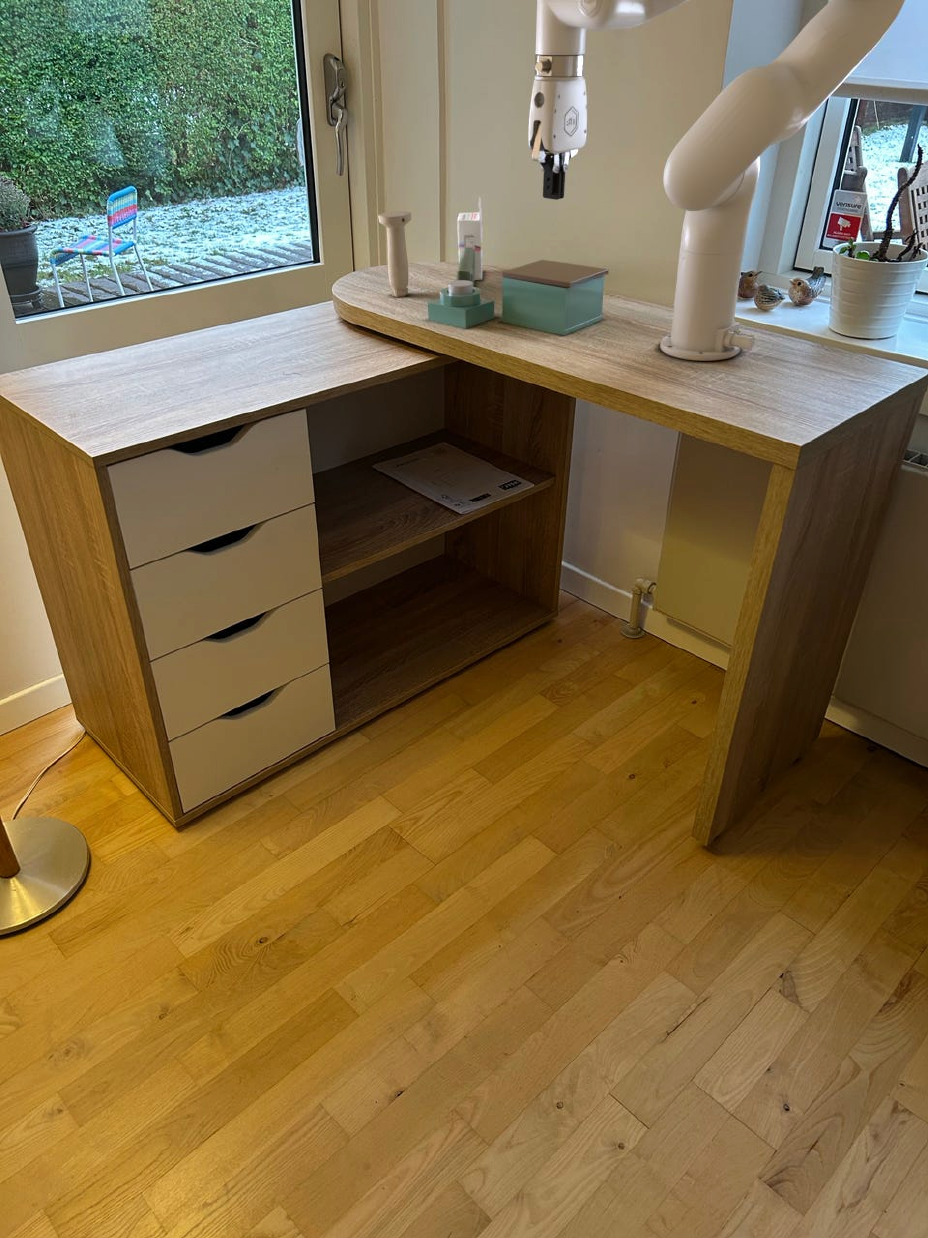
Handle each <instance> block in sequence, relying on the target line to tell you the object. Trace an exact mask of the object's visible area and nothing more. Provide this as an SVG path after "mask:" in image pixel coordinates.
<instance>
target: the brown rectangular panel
mask: <svg viewBox="0 0 928 1238" xmlns="http://www.w3.org/2000/svg"><path fill="white" fill-rule="evenodd" d="M607 275H609V268H602V267H595V266H589V265H582V264H576V263H568V262H561V261H554V260H547V259H540V260H536V261H534V262H530V263H527V264H524V265H521V266H517V267H514V268H512V269H508V270H505V271H502V277H507V278H513V279H519V280H525V281H531V282H538V283H544V284H550V285H556V286H562V287H568V288H570V287H573V286H576V285H579V284H582V283H584V282H587V281H590V280H593V279H596V278H598V277H601V276H604V277H605V276H607Z"/></svg>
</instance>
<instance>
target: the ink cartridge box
mask: <svg viewBox="0 0 928 1238" xmlns="http://www.w3.org/2000/svg"><path fill="white" fill-rule="evenodd" d="M477 205H478V212H477V211H475V212H467V211H466V212H459V213H458V217H457V220H456V222H457V241H458V242H457V243H458V262H459V261H460V258H461V256H462V252H463V250H464V249H465V248H466V247H467V248H473V249H474V250H475V273H474V281H481V280H483V269H484V268H483V267H484V266H483V262H484V261H483V259H484V257H483V254H484V253H483V248H484V247H483V207H482V206H483V205H482V198H481V196H479V199H478V203H477Z"/></svg>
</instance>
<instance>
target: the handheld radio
mask: <svg viewBox="0 0 928 1238" xmlns="http://www.w3.org/2000/svg"><path fill="white" fill-rule="evenodd" d="M474 273H475V250H474V249H473V248H467V247H466V248H465V249H464V250H463V252H462V256H461V258H460V261H459V260H458V266H457V272H456V281H457V280H467V281H471V282H473V286H474V284H475V280H474Z"/></svg>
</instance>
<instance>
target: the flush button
mask: <svg viewBox="0 0 928 1238" xmlns="http://www.w3.org/2000/svg"><path fill="white" fill-rule="evenodd" d="M473 287H474V285H473V282H471V281H467V280H457V279H456V280H451V281H449V282H448V283H447V288H448V293H449V294H454V295H464V294H470V293H473Z"/></svg>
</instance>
